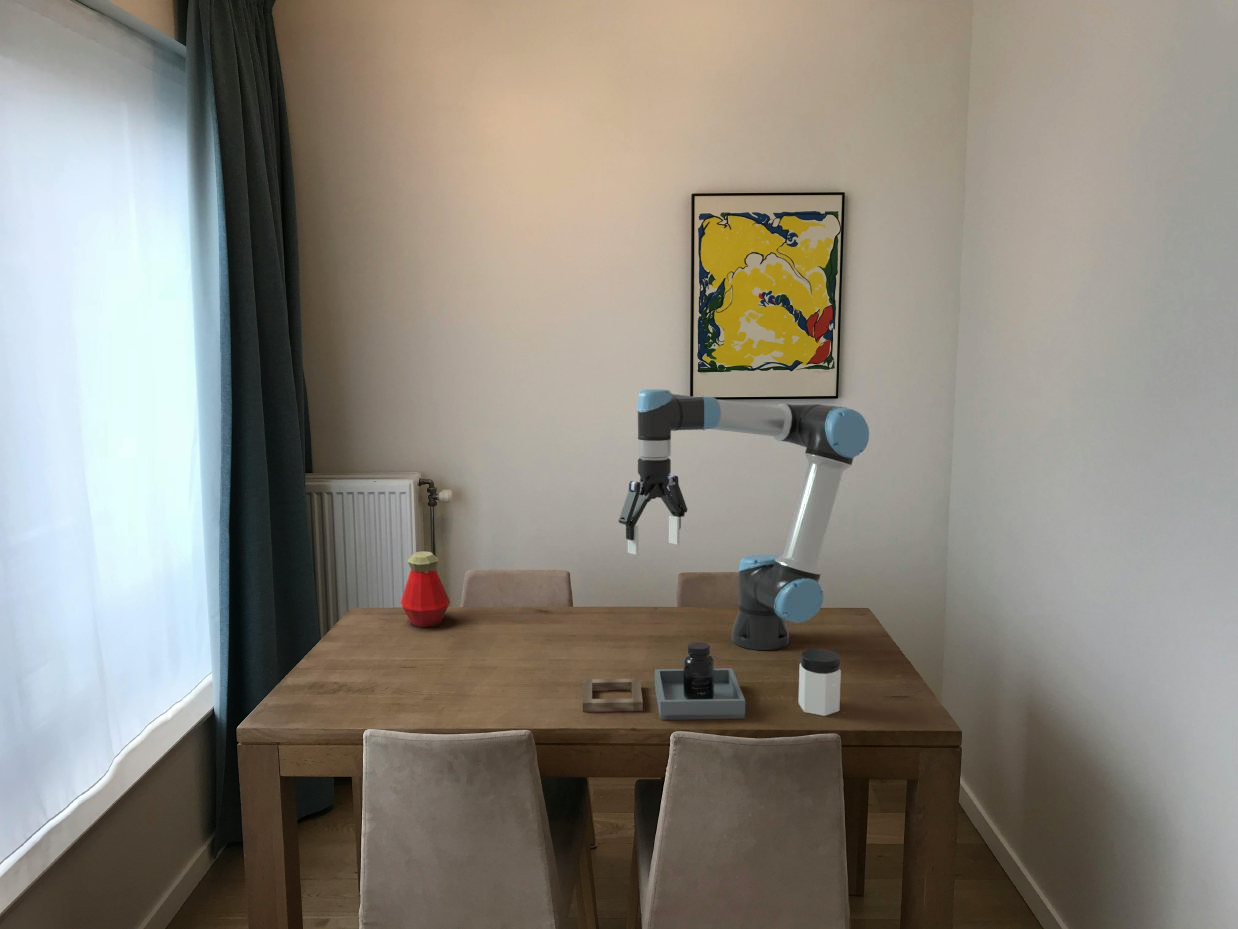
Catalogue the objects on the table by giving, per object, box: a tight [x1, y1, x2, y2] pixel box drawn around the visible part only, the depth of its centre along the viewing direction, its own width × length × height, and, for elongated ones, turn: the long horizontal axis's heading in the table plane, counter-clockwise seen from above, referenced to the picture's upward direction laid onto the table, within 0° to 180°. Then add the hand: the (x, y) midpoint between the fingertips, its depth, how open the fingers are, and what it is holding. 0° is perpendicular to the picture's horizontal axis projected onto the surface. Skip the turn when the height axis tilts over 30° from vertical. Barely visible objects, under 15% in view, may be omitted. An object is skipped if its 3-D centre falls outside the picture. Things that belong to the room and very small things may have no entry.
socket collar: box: [582, 678, 644, 713], centre depth 193 cm, size 13×13×2 cm
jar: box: [797, 648, 842, 717], centre depth 188 cm, size 9×8×12 cm
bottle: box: [400, 551, 451, 629], centre depth 244 cm, size 16×14×20 cm
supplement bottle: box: [682, 641, 715, 700], centre depth 191 cm, size 7×7×12 cm
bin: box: [654, 667, 746, 721], centre depth 192 cm, size 18×18×4 cm
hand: (653, 548), depth 200 cm, fingers open, 13 cm apart
